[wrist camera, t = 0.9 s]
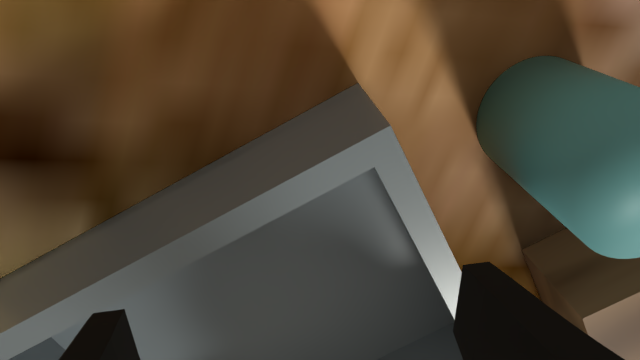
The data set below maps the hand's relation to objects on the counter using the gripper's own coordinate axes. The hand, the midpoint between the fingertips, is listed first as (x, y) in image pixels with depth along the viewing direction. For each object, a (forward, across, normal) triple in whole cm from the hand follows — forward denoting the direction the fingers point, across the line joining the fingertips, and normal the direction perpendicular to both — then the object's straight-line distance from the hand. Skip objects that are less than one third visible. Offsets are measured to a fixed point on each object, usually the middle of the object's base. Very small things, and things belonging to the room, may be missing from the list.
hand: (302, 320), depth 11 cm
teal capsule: (+10, -11, 0) cm, 15 cm away
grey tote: (+10, +2, +9) cm, 13 cm away
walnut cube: (+10, -15, +9) cm, 20 cm away
